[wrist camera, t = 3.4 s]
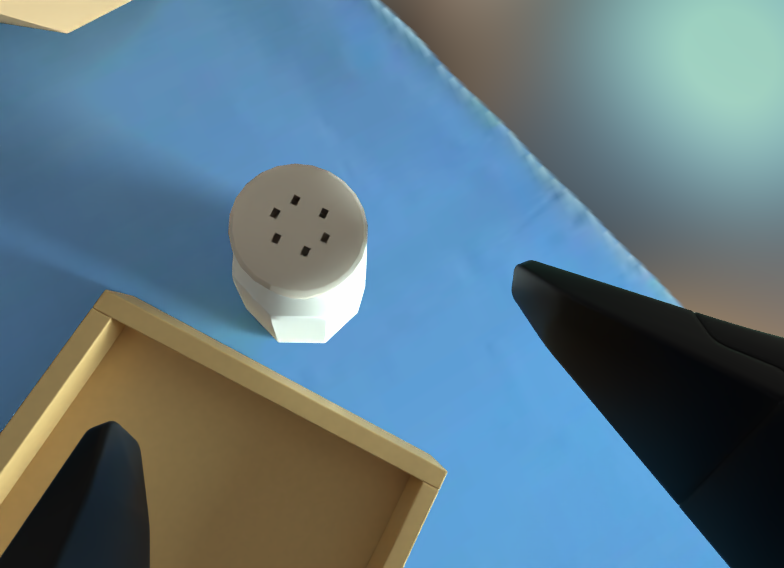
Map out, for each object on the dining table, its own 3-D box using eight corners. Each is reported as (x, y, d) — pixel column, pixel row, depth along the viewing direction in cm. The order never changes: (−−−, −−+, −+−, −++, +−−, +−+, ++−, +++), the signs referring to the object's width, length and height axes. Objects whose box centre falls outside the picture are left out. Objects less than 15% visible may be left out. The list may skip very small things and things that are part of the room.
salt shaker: (379, 261, 20) (465, 173, 9) (333, 365, 19) (368, 406, 8) (276, 212, 19) (235, 52, 8) (221, 317, 18) (92, 290, 7)
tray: (256, 820, 16) (247, 904, 13) (-133, 669, 14) (-221, 735, 12) (430, 455, 19) (448, 471, 17) (132, 295, 17) (104, 289, 15)
